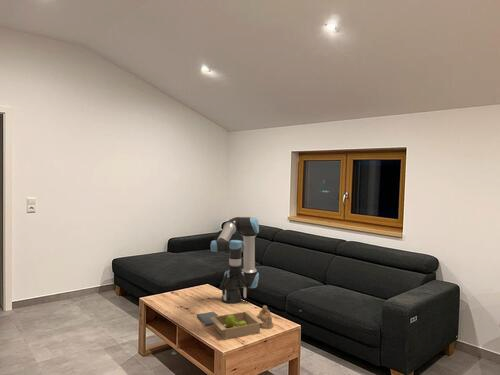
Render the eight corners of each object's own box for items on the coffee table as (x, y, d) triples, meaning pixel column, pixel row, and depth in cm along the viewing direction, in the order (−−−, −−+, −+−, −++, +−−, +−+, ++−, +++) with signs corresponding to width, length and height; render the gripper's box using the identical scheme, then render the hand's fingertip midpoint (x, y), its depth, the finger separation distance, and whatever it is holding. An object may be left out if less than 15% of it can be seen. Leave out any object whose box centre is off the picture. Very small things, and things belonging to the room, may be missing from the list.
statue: (276, 305, 257) (273, 306, 248) (274, 328, 254) (272, 329, 244) (258, 304, 260) (254, 304, 251) (256, 326, 257) (253, 327, 247)
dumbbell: (223, 327, 248) (223, 315, 248) (233, 324, 253) (233, 313, 253) (238, 335, 236) (238, 324, 235) (249, 332, 240) (249, 320, 240)
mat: (213, 313, 271) (213, 311, 271) (223, 323, 254) (223, 321, 254) (196, 316, 266) (196, 314, 266) (205, 326, 249) (205, 324, 249)
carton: (248, 319, 260) (248, 311, 260) (263, 332, 240) (263, 322, 240) (209, 326, 248) (209, 317, 248) (221, 340, 229) (221, 330, 229)
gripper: (250, 262, 254) (250, 294, 254) (214, 265, 244) (214, 299, 244) (255, 264, 247) (255, 297, 247) (218, 267, 237) (218, 302, 237)
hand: (234, 298), depth 246 cm, fingers open, 13 cm apart
